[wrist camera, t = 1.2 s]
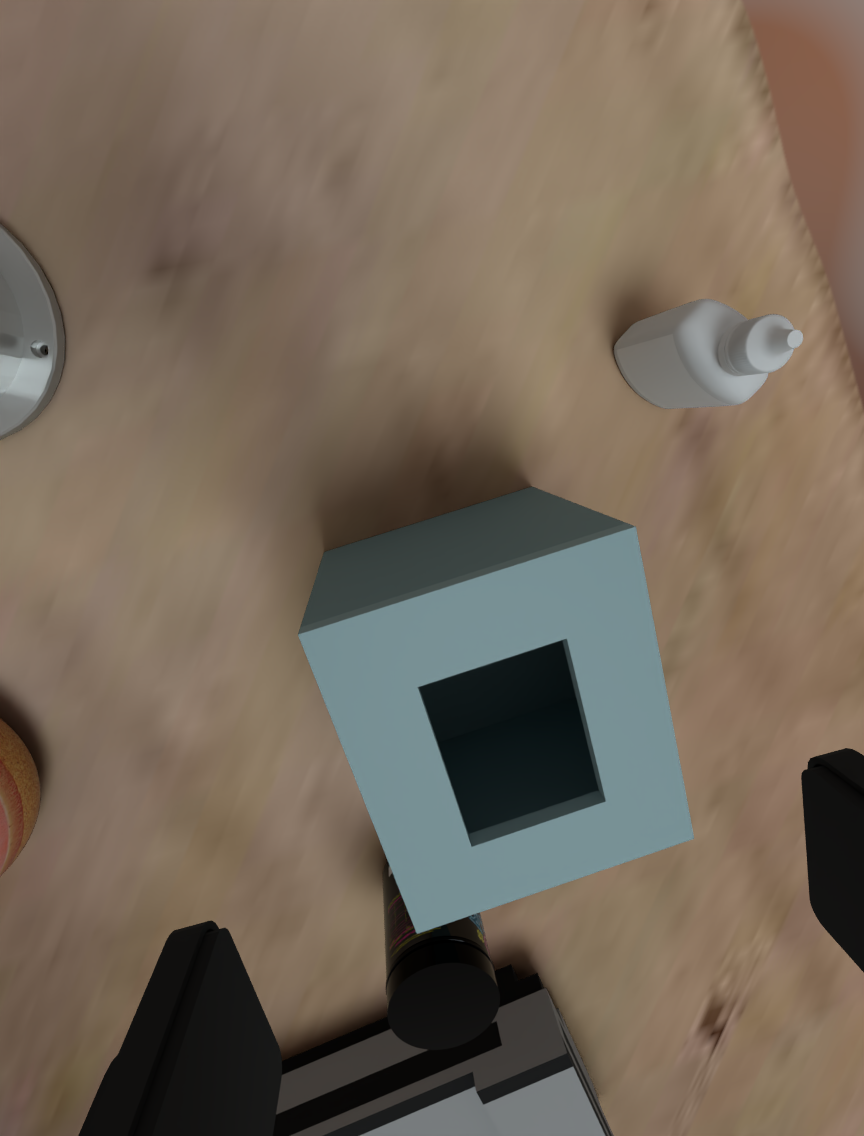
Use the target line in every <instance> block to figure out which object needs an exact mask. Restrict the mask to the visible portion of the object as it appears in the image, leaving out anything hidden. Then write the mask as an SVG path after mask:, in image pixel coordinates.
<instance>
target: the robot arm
mask: <svg viewBox="0 0 864 1136" xmlns="http://www.w3.org/2000/svg"><path fill="white" fill-rule="evenodd" d="M47 346H48V349H49V352H48V355H46V353H45V348H46V347H47ZM64 357H65V335H64V328H63V322H62V316H61V312H60V309H59V306H58V304H57V301H56V298H55V295H54V292H53V290H52V288H51V286H50V284H49V282H48V280H47V279H46V277H45V275H44V273H43V271H42V270H41V268H40V266H39V265H38V263H37V262H36V261H35V260H34V258H33V257H32V256H31V255H30V253H29V252H28V251H27V249H26V248H25V247H24V246H23V244H22V243H21V242H20V241H19V240H17V239H16V238H15V237H14V236H13V235H12V234H11V233H10V232H9V231H8V230H7V229H6V228H5V227H4V226H3V225H1V224H0V440H1V439H3V438H5V437H7V436H9V435H12V434H14V433H16V432H18V431H20V430H21V429H23V428H24V427H25V426H27V425H28V424H29V423H30V422H32V421H33V420H34V419H35V418H37V417H38V416H39V414H40V413H41V412H42V411H43V409H44V408H45V407H46V406H47V404H48V403H49V402H50V400H51V398H52V396H53V394H54V392H55V390H56V388H57V386H58V384H59V381H60V377H61V373H62V369H63V364H64ZM801 779H802V794H803V808H804V823H805V837H806V852H807V866H808V881H809V895H810V903H811V906H812V909H813V911H814V913H815V915H816V917H817V918H818V920H819V922H820V923H821V924H822V926H823V927H824V928H825V929H826V930H827V932H828V933H829V934H830V935H831V936H832V937H833V938H834V939H835V941H836V942H837V943H838V944H839V945H840V946H841V947H842V948H843V950H844V951H845V952H846V953H847V954H848V955H849V956H850V957H851V959H852V960H853V961H854V962H855V963H856V964H857V965H858V966H859V968H860V969H861V970H862V971H863V972H864V756H863V755H862V754H860V753H859V752H857V751H855V750H853V749H848V748H845V749H842V750H838V751H834V752H831V753H827V754H823V755H820V756H816V757H813V758H810V760H809V762H808V769H807V770H804V771H803V772H802V777H801ZM281 1078H282V1058H281V1052H280V1049H279V1046H278V1043H277V1041H276V1039H275V1036H274V1034H273V1032H272V1029H271V1027H270V1025H269V1022H268V1020H267V1018H266V1016H265V1013H264V1011H263V1009H262V1006H261V1004H260V1002H259V999H258V997H257V995H256V992H255V990H254V988H253V985H252V983H251V981H250V978H249V976H248V974H247V971H246V969H245V967H244V965H243V962H242V960H241V958H240V955H239V953H238V951H237V948H236V946H235V944H234V941H233V939H232V937H231V934H230V933H229V931H228V929H226V928H222V929H219V928H218V926H217V925H216V923H215V922H213V921H207V922H204V923H200V924H196V925H193V926H189V927H185V928H181V929H178V930H174V931H173V932H172V933H171V934H170V935H169V937H168V939H167V941H166V943H165V945H164V947H163V950H162V952H161V955H160V957H159V959H158V962H157V964H156V966H155V969H154V971H153V973H152V976H151V978H150V981H149V983H148V985H147V988H146V990H145V992H144V995H143V997H142V999H141V1002H140V1004H139V1007H138V1009H137V1011H136V1014H135V1016H134V1018H133V1021H132V1023H131V1025H130V1028H129V1030H128V1033H127V1035H126V1037H125V1040H124V1042H123V1044H122V1047H121V1049H120V1051H119V1054H118V1055H117V1056H116V1057H115V1058H114V1060H113V1061H112V1062H111V1064H110V1066H109V1068H108V1070H107V1072H106V1073H105V1075H104V1078H103V1080H102V1082H101V1084H100V1087H99V1089H98V1091H97V1094H96V1096H95V1098H94V1101H93V1103H92V1105H91V1108H90V1110H89V1112H88V1115H87V1117H86V1119H85V1122H84V1124H83V1126H82V1129H81V1131H80V1133H79V1136H273V1130H274V1124H275V1117H276V1111H277V1105H278V1098H279V1092H280V1085H281Z"/></svg>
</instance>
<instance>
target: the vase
mask: <svg viewBox="0 0 864 1136" xmlns="http://www.w3.org/2000/svg"><path fill="white" fill-rule="evenodd" d="M40 801H41V788H40V780H39V775H38V771H37V768H36V765H35V763H34V760H33V758H32V756H31V754H30V752H29V750H28V749H27V747H26V745H25V744H24V742H23V741H22V740H21V738H20V737H19V736H18V735H17V733H16V732H15V731H14V730H13V729H12V728H11V727H10V726H9V725H8V724H7V723H5V722H4V721H3V720H2V719H1V718H0V877H1V876H2V874H3V873H4V872H5V871H6V870H7V869H8V868H9V867H10V866H11V864H12V863H13V862H14V861H15V860H16V858H17V857H18V855H19V854H20V853H21V851H22V850H23V848H24V847H25V845H26V843H27V841H28V840H29V838H30V836H31V834H32V832H33V829H34V827H35V824H36V821H37V818H38V814H39V809H40Z"/></svg>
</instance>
